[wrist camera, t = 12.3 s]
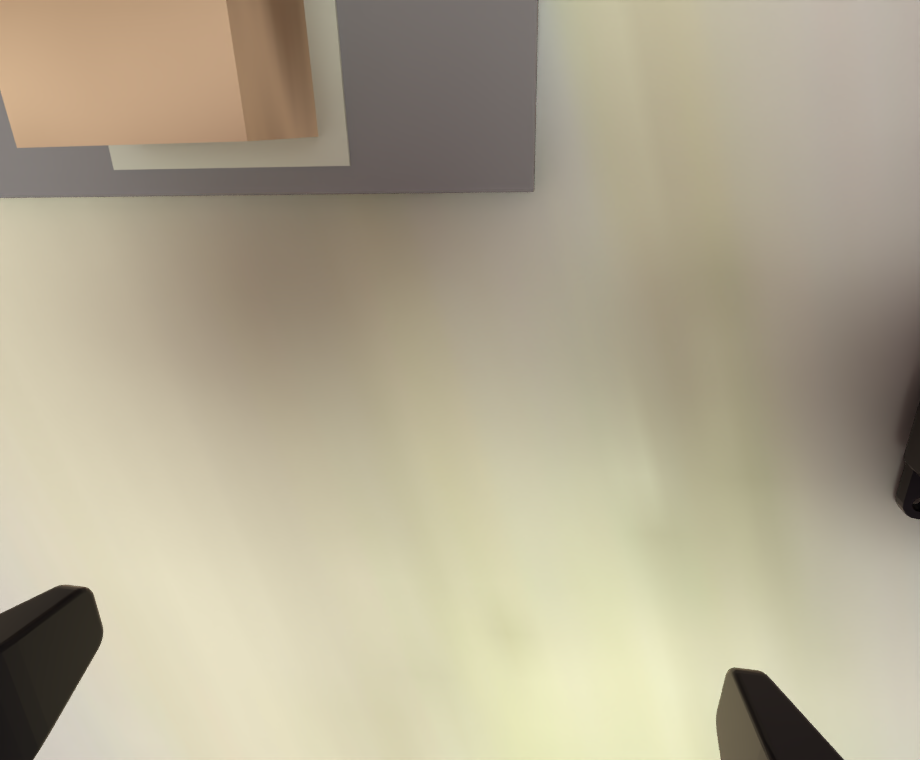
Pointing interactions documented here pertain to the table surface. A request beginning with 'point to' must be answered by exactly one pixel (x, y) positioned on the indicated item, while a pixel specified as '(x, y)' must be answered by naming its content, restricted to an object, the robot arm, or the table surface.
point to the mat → (348, 115)
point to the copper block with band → (155, 71)
